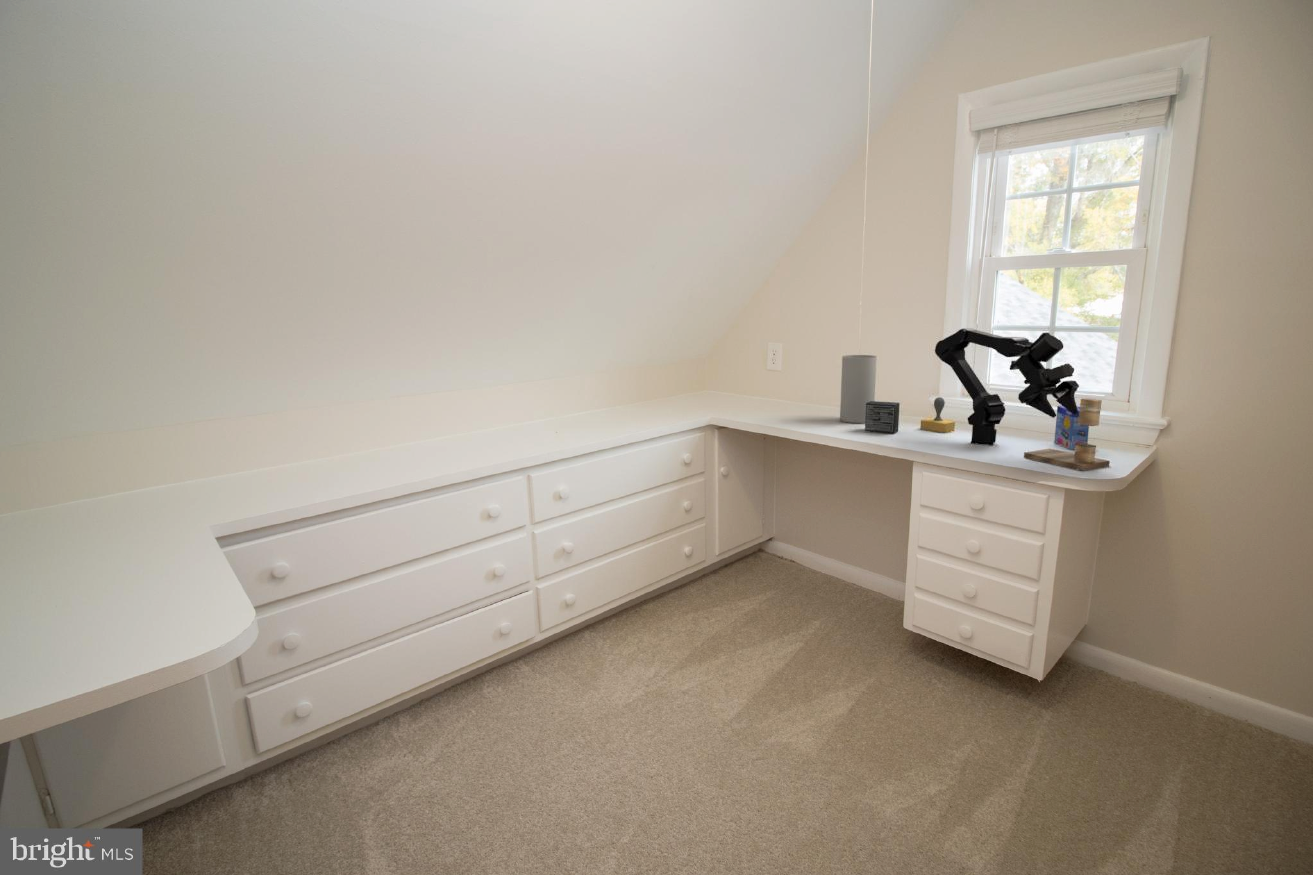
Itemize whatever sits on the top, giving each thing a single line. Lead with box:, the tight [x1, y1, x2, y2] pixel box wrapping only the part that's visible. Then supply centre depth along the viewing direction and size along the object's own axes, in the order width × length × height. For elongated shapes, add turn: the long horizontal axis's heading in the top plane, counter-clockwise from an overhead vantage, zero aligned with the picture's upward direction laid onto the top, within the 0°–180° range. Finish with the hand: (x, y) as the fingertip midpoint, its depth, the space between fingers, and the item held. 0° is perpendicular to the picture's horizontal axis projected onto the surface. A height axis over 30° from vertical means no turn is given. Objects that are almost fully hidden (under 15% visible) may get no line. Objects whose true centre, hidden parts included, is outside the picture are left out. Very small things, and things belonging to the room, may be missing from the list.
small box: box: [864, 401, 900, 435], centre depth 230 cm, size 11×6×10 cm, turn 58°
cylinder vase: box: [839, 354, 878, 425], centre depth 249 cm, size 12×12×25 cm
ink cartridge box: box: [1054, 405, 1090, 450], centre depth 201 cm, size 10×6×14 cm, turn 174°
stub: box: [1078, 397, 1103, 427], centre depth 177 cm, size 4×2×7 cm, turn 24°
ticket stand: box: [1023, 443, 1111, 471], centre depth 184 cm, size 18×11×6 cm, turn 24°
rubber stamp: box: [919, 396, 956, 434], centre depth 230 cm, size 10×6×12 cm, turn 34°
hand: (1065, 415), depth 183 cm, fingers open, 9 cm apart
